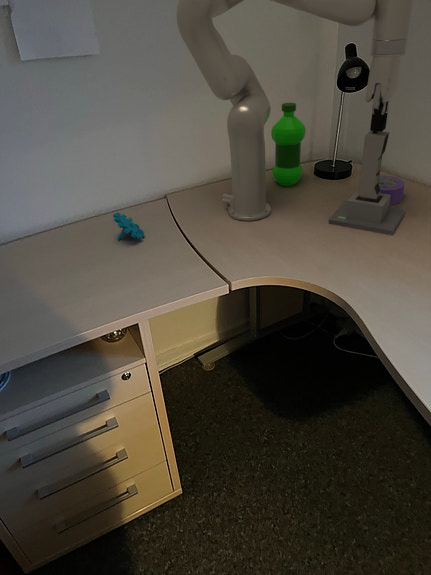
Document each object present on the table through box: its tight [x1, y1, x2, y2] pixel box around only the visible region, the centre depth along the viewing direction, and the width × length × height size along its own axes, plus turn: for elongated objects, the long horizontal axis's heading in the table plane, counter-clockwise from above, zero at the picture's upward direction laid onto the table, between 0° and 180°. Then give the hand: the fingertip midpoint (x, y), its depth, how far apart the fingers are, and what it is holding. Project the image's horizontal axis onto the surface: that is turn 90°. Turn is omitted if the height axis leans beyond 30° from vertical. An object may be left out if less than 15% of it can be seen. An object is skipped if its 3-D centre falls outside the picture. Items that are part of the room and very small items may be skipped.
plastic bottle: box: [271, 102, 306, 187], centre depth 148 cm, size 10×10×25 cm
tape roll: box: [378, 174, 405, 206], centre depth 139 cm, size 12×12×5 cm
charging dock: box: [328, 189, 406, 236], centre depth 127 cm, size 17×14×6 cm
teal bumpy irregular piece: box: [112, 211, 145, 241], centre depth 128 cm, size 11×6×10 cm
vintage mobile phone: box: [358, 99, 390, 200], centre depth 118 cm, size 4×5×25 cm
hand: (377, 129), depth 116 cm, fingers closed on vintage mobile phone, 1 cm apart
